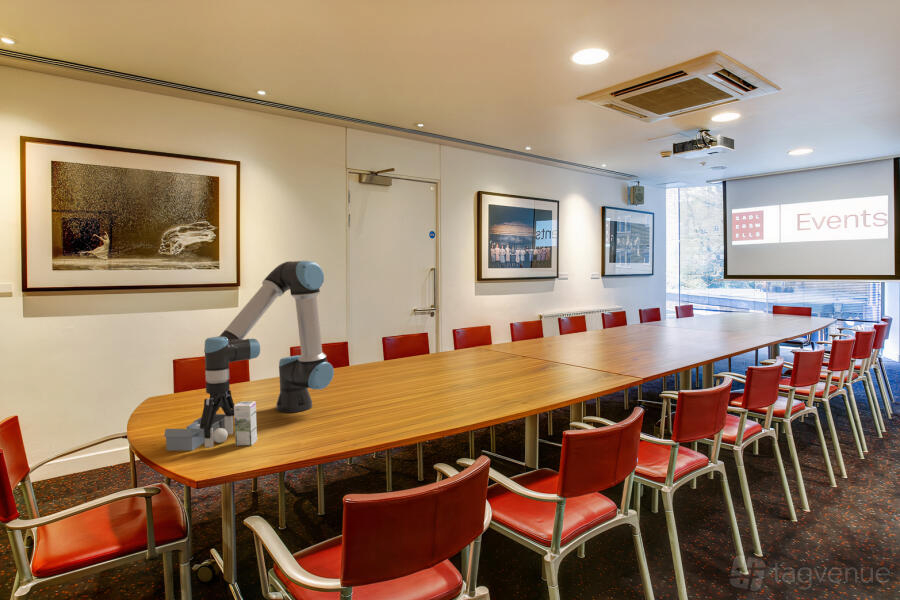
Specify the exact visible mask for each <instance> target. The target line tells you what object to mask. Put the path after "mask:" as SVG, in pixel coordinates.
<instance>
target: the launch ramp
mask: <svg viewBox="0 0 900 600" xmlns="http://www.w3.org/2000/svg"><path fill="white" fill-rule="evenodd" d="M211 428H213V432H214V431H215V430H216V429H218V428H220V427H219V421H217V422H216V423H214V424H212V427H211ZM163 437H164V438H165V444H166V451H168V452H169V451H174V452H175V451H180V452H181V451H185V452H186V451H189V452H190V451H192V452H193V451H194V450H195V449H197V448H198V447H200V446H202V445H203V444H205V439H204V429H200V424H198V421H196V422H194V421H193V423H190V424H189V425H187V426H186V428H165V429H164V436H163Z"/></svg>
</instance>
